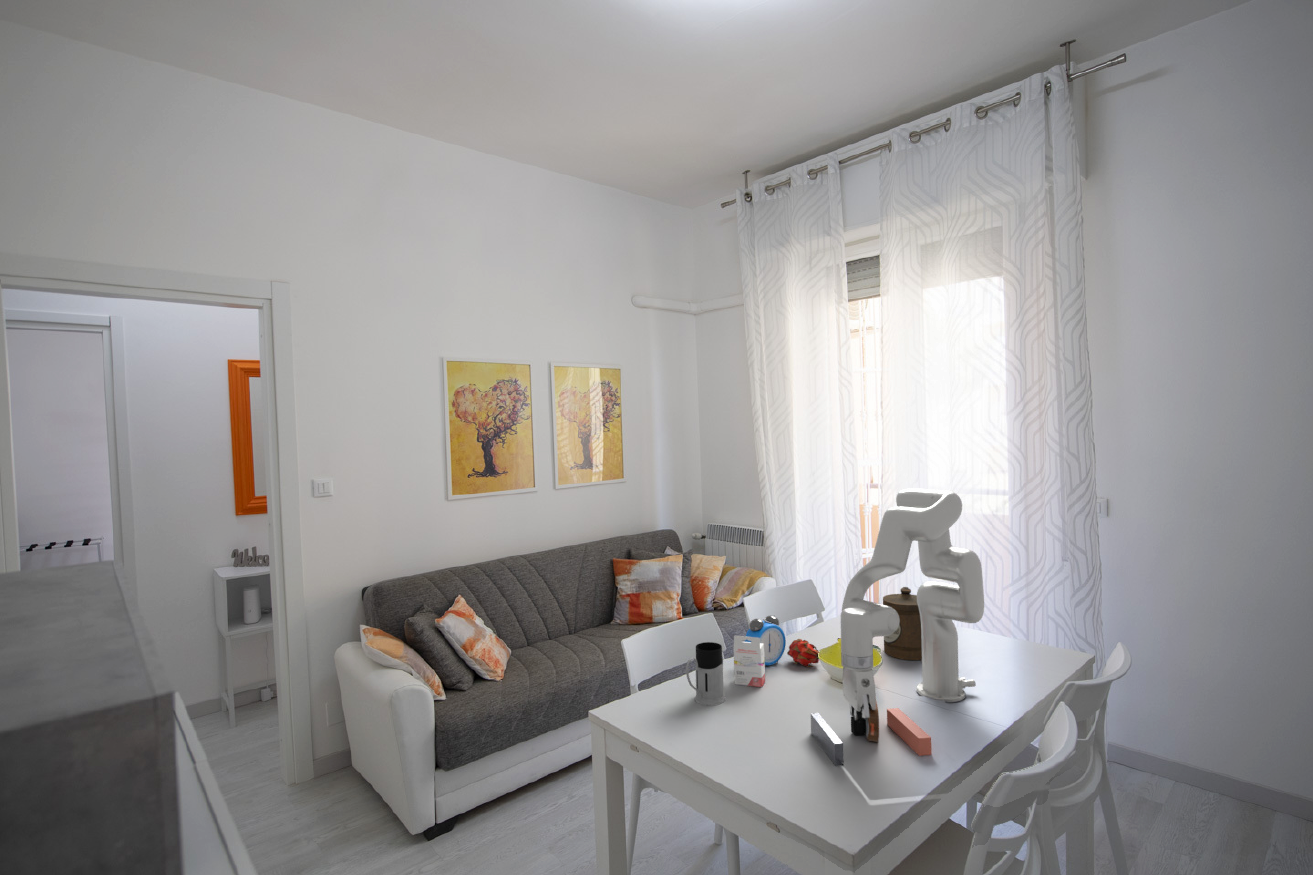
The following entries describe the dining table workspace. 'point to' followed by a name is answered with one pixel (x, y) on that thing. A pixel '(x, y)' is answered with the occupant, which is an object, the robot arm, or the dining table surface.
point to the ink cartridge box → (749, 661)
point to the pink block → (909, 731)
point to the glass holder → (708, 674)
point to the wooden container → (904, 627)
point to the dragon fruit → (803, 652)
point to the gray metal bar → (827, 739)
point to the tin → (872, 725)
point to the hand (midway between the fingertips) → (858, 733)
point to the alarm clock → (768, 638)
